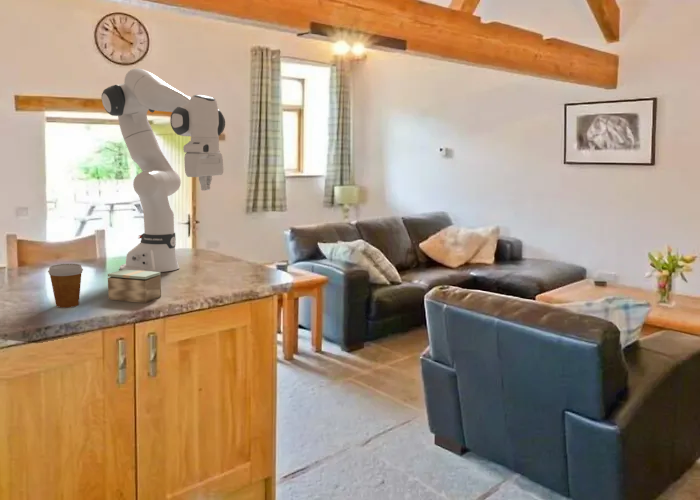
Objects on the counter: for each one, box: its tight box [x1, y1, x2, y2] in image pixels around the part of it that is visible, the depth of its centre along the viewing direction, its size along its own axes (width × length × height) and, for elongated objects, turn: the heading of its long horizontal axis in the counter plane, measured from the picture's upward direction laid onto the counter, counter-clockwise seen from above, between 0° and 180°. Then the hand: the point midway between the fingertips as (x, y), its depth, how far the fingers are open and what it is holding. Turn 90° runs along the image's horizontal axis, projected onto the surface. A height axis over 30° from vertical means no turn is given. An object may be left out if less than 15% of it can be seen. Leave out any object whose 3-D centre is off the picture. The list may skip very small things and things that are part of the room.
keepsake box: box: [107, 275, 162, 304], centre depth 196 cm, size 13×9×7 cm
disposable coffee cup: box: [47, 263, 84, 309], centre depth 185 cm, size 10×10×12 cm
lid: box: [107, 269, 162, 279], centre depth 195 cm, size 13×9×1 cm
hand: (205, 190), depth 200 cm, fingers closed
